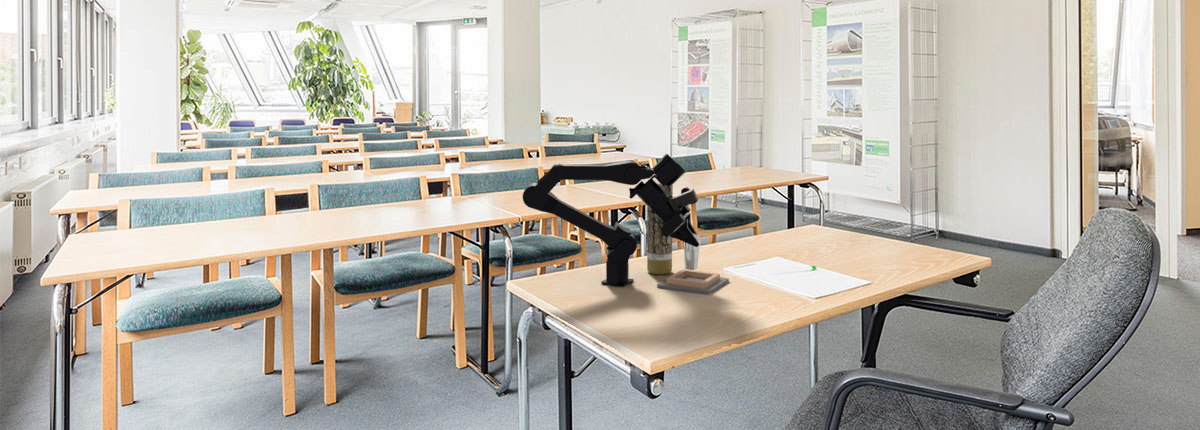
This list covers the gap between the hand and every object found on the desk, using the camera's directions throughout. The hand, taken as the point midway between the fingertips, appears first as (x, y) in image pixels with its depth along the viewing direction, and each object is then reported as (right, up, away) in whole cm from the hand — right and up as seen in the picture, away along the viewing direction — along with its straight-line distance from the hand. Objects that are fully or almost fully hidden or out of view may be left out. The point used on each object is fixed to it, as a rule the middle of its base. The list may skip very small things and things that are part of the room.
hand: (698, 244), depth 180 cm
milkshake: (-1, -7, +1) cm, 7 cm away
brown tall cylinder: (-9, -9, +15) cm, 19 cm away
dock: (-1, -10, +2) cm, 11 cm away
